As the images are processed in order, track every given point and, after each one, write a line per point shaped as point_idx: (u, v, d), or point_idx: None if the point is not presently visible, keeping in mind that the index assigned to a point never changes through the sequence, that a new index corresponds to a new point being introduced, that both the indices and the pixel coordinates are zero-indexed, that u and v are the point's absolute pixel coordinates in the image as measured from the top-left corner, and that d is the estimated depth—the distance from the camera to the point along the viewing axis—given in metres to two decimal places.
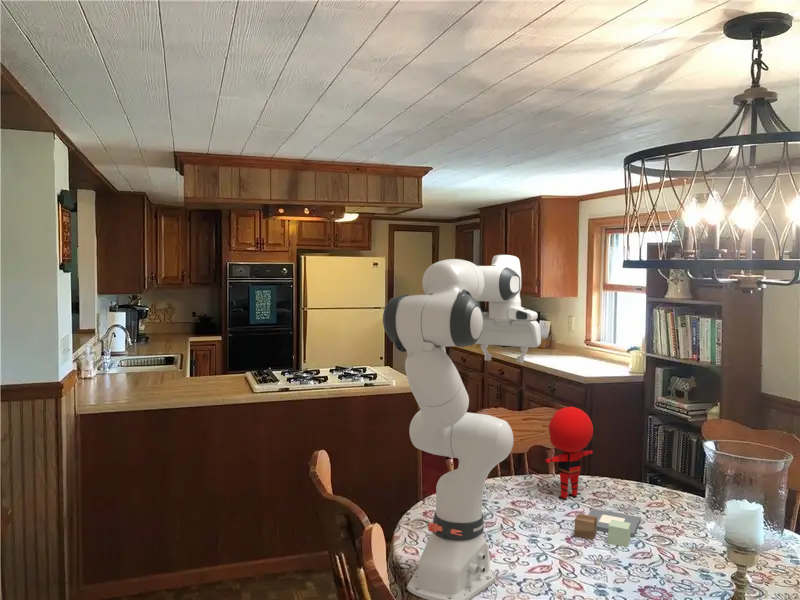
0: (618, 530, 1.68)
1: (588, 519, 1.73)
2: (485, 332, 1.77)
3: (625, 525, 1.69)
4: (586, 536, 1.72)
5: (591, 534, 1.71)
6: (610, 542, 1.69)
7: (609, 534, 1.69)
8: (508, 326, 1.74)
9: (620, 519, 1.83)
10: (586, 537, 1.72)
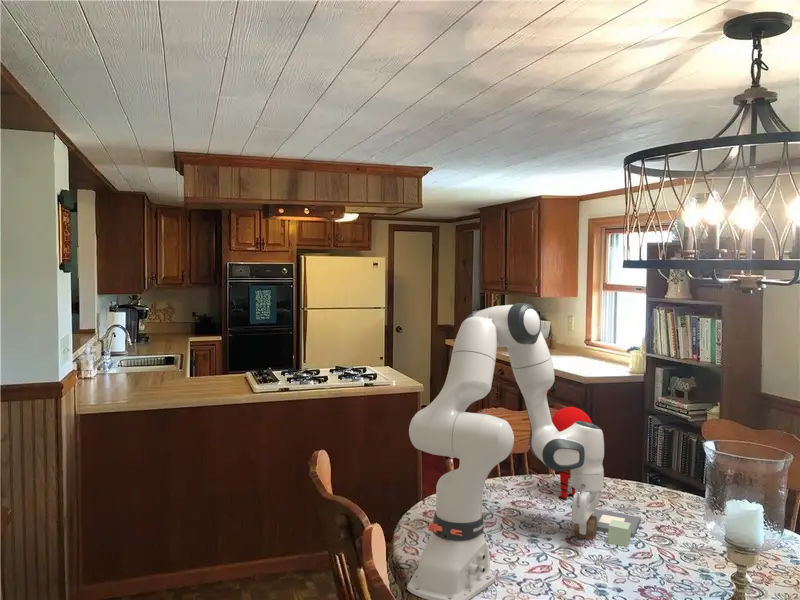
0: (618, 530, 1.68)
1: (588, 519, 1.73)
2: (589, 506, 1.69)
3: (625, 525, 1.69)
4: (586, 536, 1.72)
5: (591, 534, 1.71)
6: (610, 542, 1.69)
7: (609, 534, 1.69)
8: None
9: (620, 519, 1.83)
10: (586, 537, 1.72)
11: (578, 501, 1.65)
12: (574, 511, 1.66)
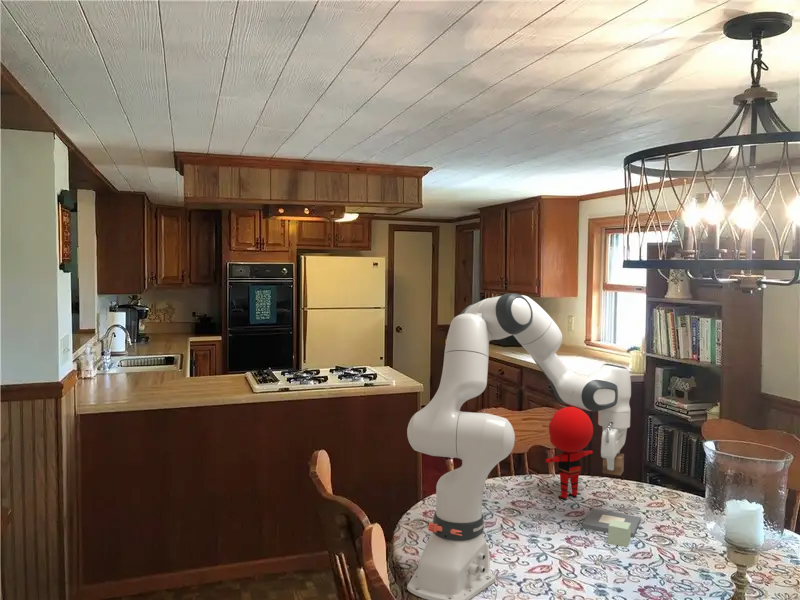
0: (618, 530, 1.68)
1: (616, 456, 1.80)
2: (617, 443, 1.77)
3: (625, 525, 1.69)
4: (614, 472, 1.79)
5: (619, 469, 1.79)
6: (610, 542, 1.69)
7: (609, 534, 1.69)
8: None
9: (620, 519, 1.83)
10: (614, 472, 1.79)
11: (607, 436, 1.73)
12: (603, 446, 1.74)
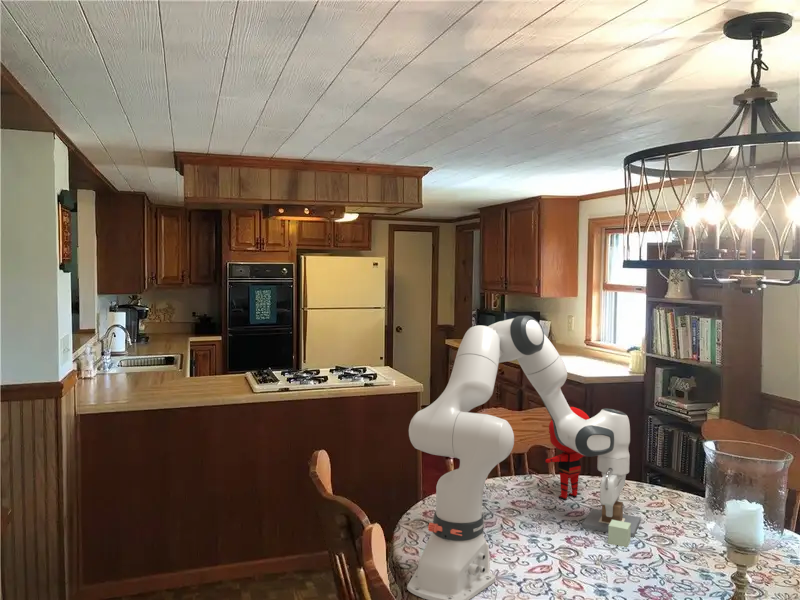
0: (618, 530, 1.68)
1: (615, 504, 1.81)
2: (616, 489, 1.77)
3: (625, 525, 1.69)
4: None
5: (618, 518, 1.79)
6: (610, 542, 1.69)
7: (609, 534, 1.69)
8: None
9: None
10: None
11: (606, 483, 1.73)
12: (602, 493, 1.74)
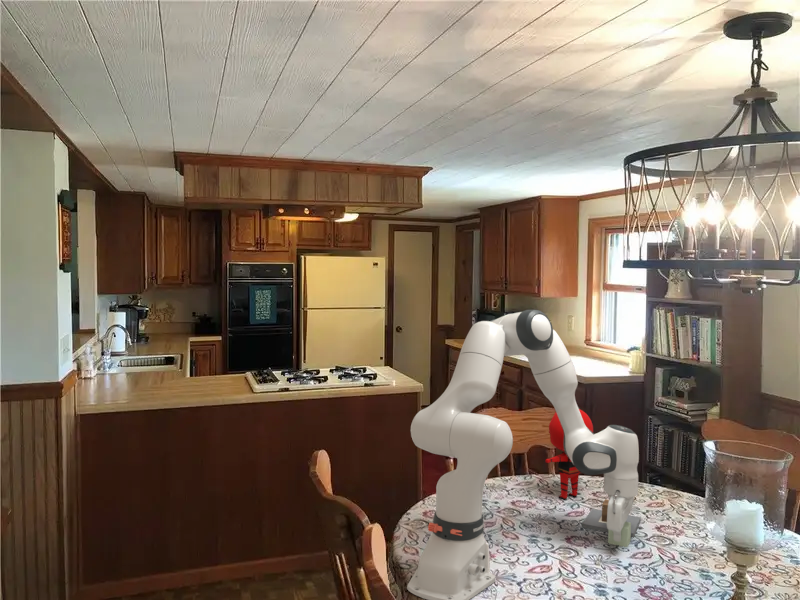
0: None
1: None
2: (624, 513, 1.65)
3: (625, 524, 1.69)
4: None
5: None
6: (610, 542, 1.69)
7: (609, 534, 1.69)
8: None
9: None
10: None
11: (614, 507, 1.60)
12: (609, 518, 1.61)
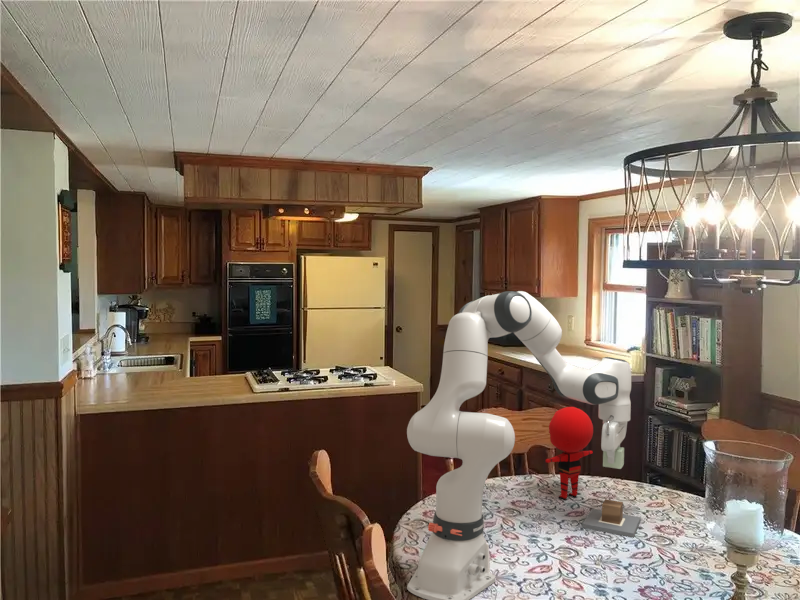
0: None
1: (615, 504, 1.81)
2: (617, 436, 1.77)
3: (619, 449, 1.81)
4: (613, 520, 1.80)
5: (618, 518, 1.79)
6: (605, 464, 1.81)
7: (604, 457, 1.81)
8: None
9: None
10: (613, 521, 1.80)
11: (607, 429, 1.72)
12: (603, 439, 1.73)
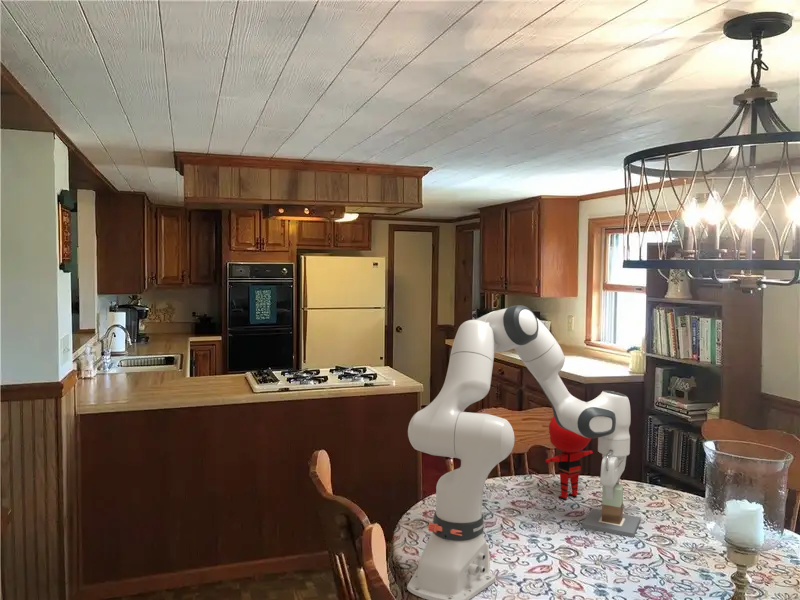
0: None
1: None
2: (616, 471, 1.77)
3: (618, 486, 1.81)
4: (613, 520, 1.80)
5: (618, 518, 1.79)
6: (604, 502, 1.81)
7: (603, 495, 1.81)
8: None
9: None
10: (613, 521, 1.80)
11: (607, 464, 1.73)
12: (603, 474, 1.74)
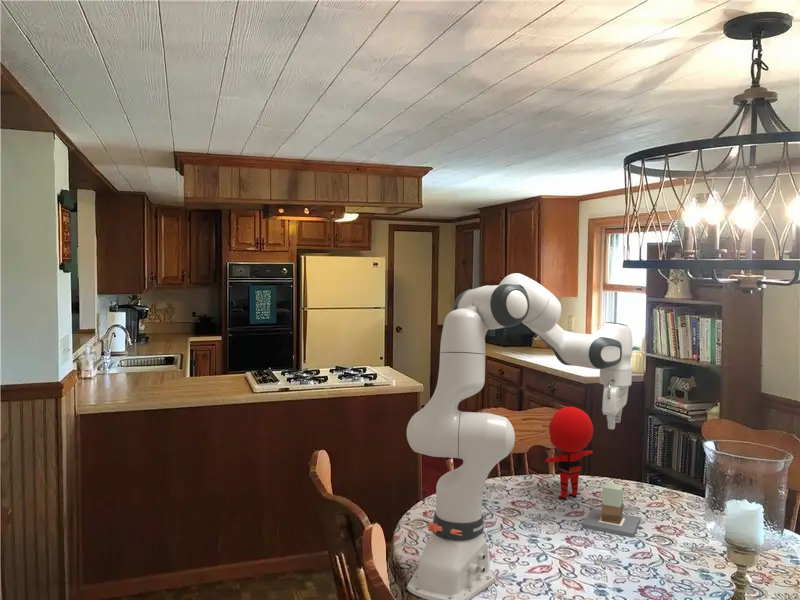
0: (611, 491, 1.80)
1: None
2: (618, 400, 1.76)
3: (618, 486, 1.81)
4: (613, 520, 1.80)
5: (618, 518, 1.79)
6: (604, 502, 1.81)
7: (603, 495, 1.81)
8: (621, 390, 1.82)
9: None
10: (613, 521, 1.80)
11: (609, 393, 1.72)
12: (605, 403, 1.73)
